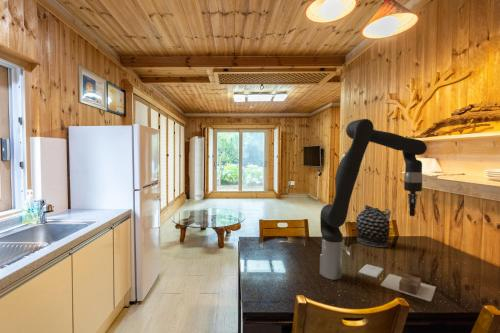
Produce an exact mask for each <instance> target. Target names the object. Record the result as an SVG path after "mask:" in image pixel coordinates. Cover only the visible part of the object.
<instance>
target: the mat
mask: <svg viewBox="0 0 500 333" xmlns="http://www.w3.org/2000/svg"><path fill="white" fill-rule="evenodd" d="M402 277H403V276H399V275H396V274H392V273H389V274H388V275H387V276H386V277H385V279H384V280H383V282H381V283H380V285H379V286H381V287H384V288H387V289H390V290H394V291H397V292H400V293H403V294H406V295H409V296H412V297H415V298H418V299H422V300H424V301H428V302H432V300H433V296H434V294H435V291H436V287H437V286H434V285H430V284H427V283H424V282H421V286H420V288H419V290H418V292H417V295H413V294H410V293H407V292H404V291H401V290H399V282H400V280H401V279H402Z"/></svg>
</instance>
